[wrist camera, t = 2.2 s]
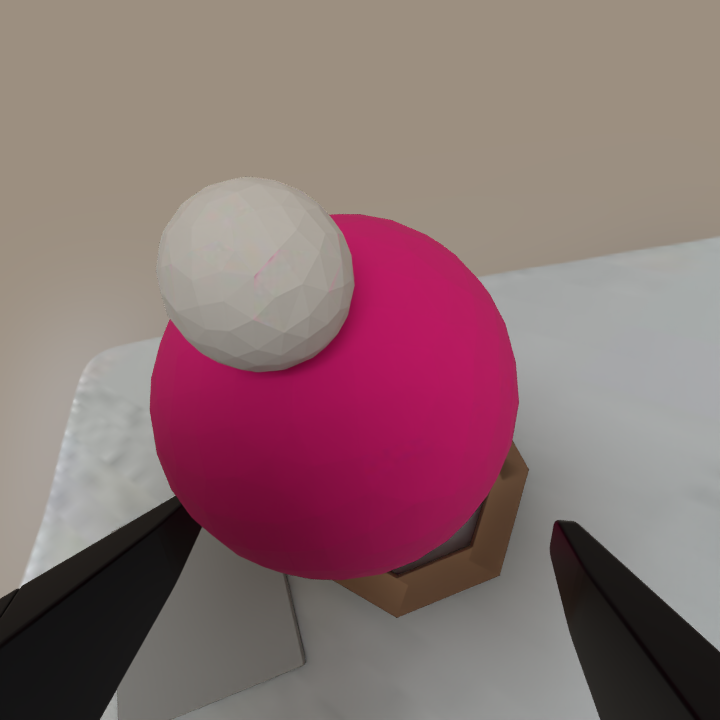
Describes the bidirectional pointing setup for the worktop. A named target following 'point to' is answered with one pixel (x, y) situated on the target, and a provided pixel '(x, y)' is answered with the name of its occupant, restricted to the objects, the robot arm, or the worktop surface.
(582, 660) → the robot arm
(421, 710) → the worktop surface
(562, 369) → the worktop surface
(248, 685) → the slate mat
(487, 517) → the walnut holder ring
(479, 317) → the pepper mill
